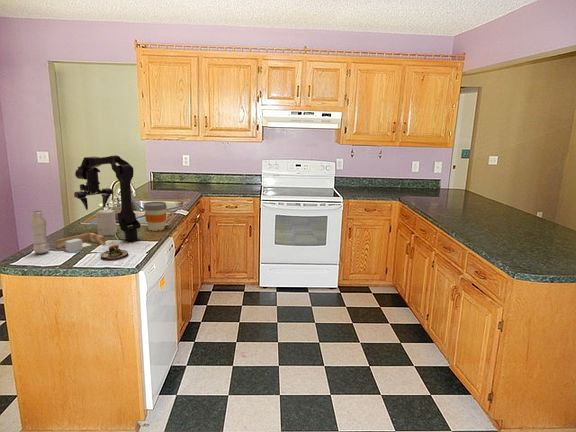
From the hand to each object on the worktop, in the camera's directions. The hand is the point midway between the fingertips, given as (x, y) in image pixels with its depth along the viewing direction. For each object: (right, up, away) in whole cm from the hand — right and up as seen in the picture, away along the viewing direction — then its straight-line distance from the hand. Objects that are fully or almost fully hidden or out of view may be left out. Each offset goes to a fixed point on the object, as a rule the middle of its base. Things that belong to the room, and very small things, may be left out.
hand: (95, 208), depth 218 cm
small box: (+5, -14, +3) cm, 15 cm away
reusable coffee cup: (+28, -12, +15) cm, 34 cm away
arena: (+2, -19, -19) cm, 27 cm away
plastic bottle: (-11, -22, -30) cm, 39 cm away
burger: (+25, -23, -32) cm, 47 cm away
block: (+2, -21, -25) cm, 33 cm away
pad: (+2, -19, -18) cm, 26 cm away
